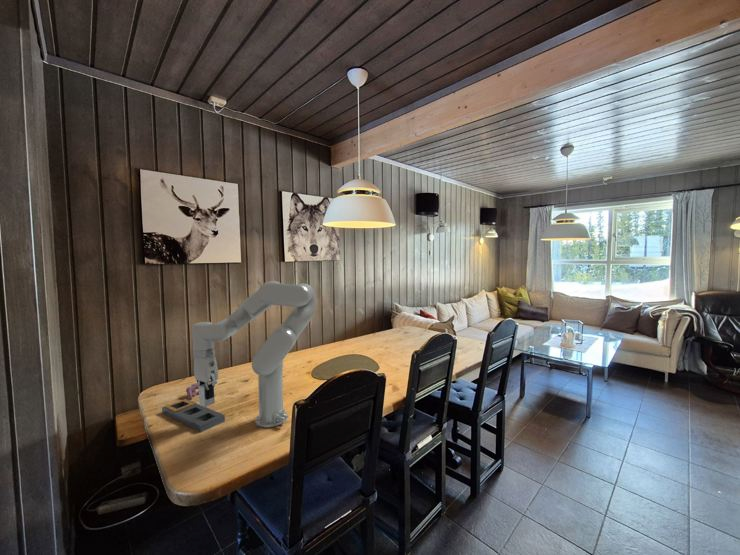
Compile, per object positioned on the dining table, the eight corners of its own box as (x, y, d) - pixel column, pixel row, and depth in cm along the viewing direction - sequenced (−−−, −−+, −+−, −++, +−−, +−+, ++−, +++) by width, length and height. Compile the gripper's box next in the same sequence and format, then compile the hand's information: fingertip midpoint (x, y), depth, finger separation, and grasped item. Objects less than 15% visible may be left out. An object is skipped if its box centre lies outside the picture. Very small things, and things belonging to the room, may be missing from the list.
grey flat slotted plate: (224, 421, 127) (224, 414, 127) (200, 432, 119) (200, 425, 119) (185, 404, 143) (185, 398, 143) (162, 413, 135) (161, 406, 135)
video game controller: (207, 394, 157) (204, 381, 159) (211, 392, 155) (208, 378, 156) (186, 401, 150) (183, 387, 151) (190, 399, 147) (187, 385, 149)
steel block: (214, 403, 126) (213, 384, 126) (205, 407, 123) (204, 387, 122) (209, 401, 128) (208, 382, 128) (199, 405, 125) (198, 385, 125)
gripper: (225, 353, 123) (227, 397, 124) (201, 348, 132) (204, 389, 133) (207, 358, 117) (209, 405, 118) (183, 352, 126) (186, 396, 127)
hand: (206, 396), depth 125 cm, fingers closed on steel block, 4 cm apart
